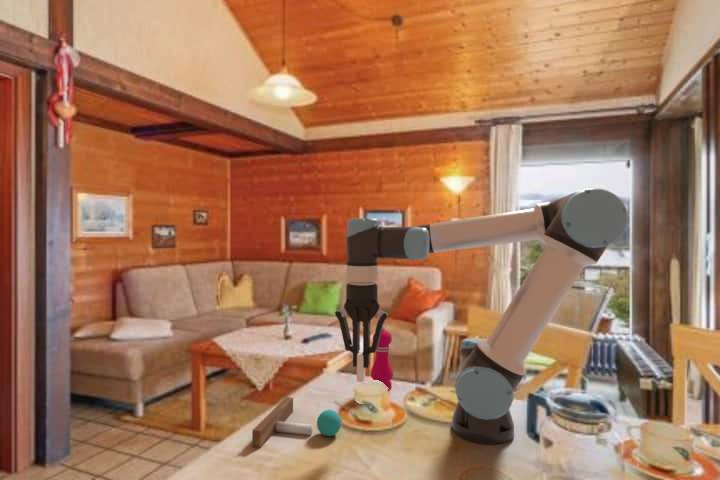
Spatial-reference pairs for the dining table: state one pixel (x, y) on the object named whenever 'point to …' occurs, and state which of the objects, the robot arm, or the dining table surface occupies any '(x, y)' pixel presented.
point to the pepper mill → (383, 360)
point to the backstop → (271, 422)
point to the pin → (294, 428)
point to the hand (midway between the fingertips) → (361, 380)
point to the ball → (329, 422)
